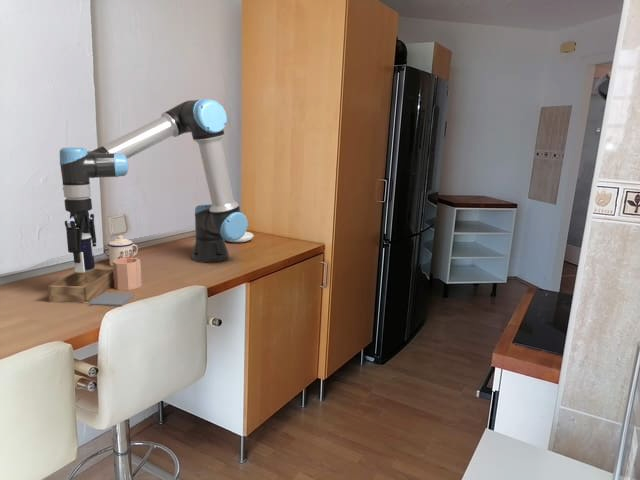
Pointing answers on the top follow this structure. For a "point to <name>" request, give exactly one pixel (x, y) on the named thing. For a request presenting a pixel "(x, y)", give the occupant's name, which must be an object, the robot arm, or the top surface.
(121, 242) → the teacup with lid
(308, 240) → the top surface
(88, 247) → the beverage can
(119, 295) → the coaster
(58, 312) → the top surface
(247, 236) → the white bowl
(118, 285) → the pot
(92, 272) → the crate
